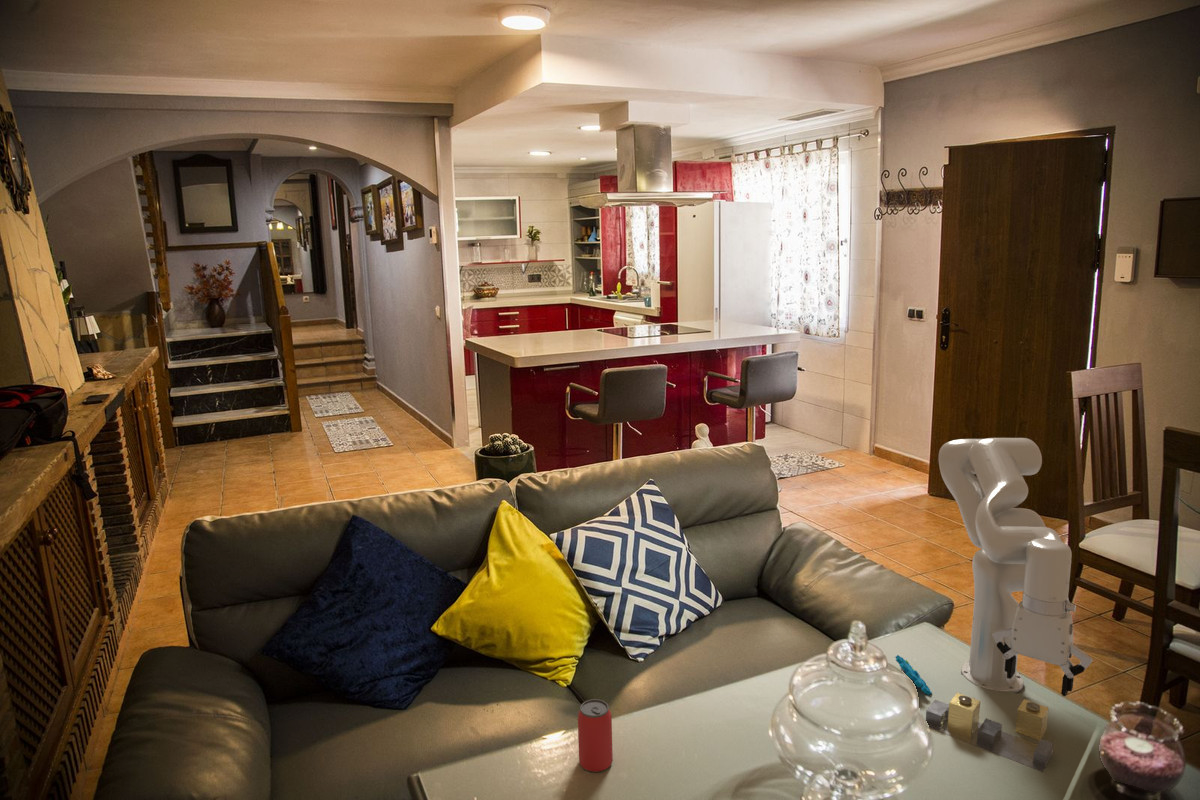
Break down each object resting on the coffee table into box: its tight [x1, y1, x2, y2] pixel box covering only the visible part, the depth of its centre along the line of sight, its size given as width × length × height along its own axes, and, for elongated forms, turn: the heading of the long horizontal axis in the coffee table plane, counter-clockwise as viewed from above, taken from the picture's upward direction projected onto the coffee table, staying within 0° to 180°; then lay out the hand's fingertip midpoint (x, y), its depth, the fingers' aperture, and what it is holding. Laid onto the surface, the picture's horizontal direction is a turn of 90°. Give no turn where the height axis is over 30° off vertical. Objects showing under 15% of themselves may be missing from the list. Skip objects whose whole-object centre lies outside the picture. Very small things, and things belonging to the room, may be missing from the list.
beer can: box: [577, 698, 614, 773], centre depth 151 cm, size 7×7×12 cm
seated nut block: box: [947, 692, 981, 738], centre depth 157 cm, size 4×4×7 cm
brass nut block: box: [1015, 699, 1050, 741], centre depth 156 cm, size 4×4×7 cm
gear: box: [894, 654, 933, 696], centre depth 173 cm, size 11×6×10 cm
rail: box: [925, 699, 1054, 773], centre depth 155 cm, size 8×22×4 cm, turn 48°
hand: (1037, 684), depth 154 cm, fingers open, 9 cm apart
